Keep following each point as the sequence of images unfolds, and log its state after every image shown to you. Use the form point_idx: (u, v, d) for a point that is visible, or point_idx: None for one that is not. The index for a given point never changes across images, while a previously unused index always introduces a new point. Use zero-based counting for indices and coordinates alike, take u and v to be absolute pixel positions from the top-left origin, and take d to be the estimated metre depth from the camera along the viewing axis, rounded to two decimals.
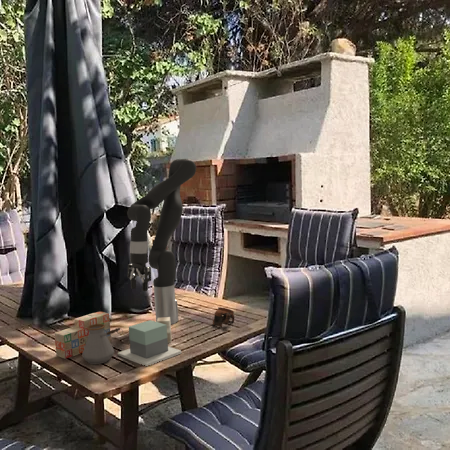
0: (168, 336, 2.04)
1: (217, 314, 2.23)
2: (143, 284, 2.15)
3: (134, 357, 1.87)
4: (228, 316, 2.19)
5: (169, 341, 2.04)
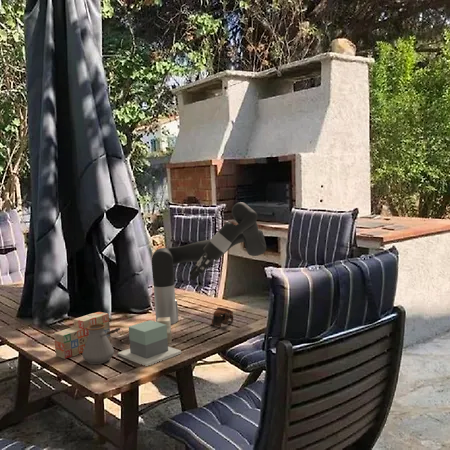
0: (168, 336, 2.04)
1: (216, 314, 2.23)
2: (194, 272, 2.00)
3: (134, 357, 1.87)
4: (227, 316, 2.19)
5: (169, 341, 2.04)
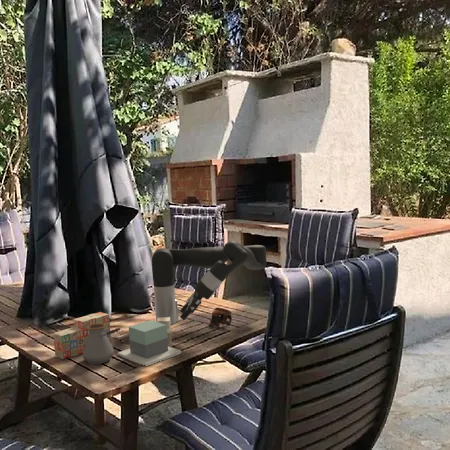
0: (168, 336, 2.04)
1: (214, 314, 2.23)
2: (184, 311, 2.00)
3: (134, 357, 1.87)
4: (225, 316, 2.19)
5: (169, 341, 2.04)
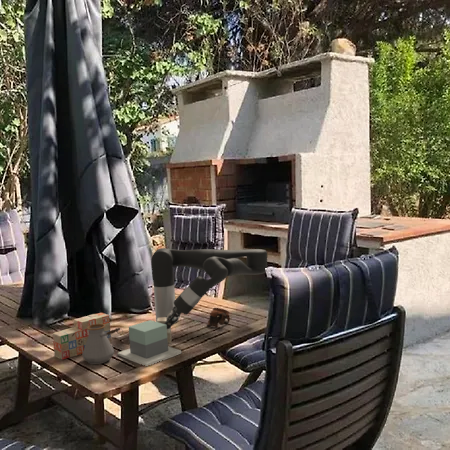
0: (168, 336, 2.04)
1: (212, 314, 2.23)
2: None
3: (134, 357, 1.87)
4: (224, 316, 2.19)
5: (169, 341, 2.04)
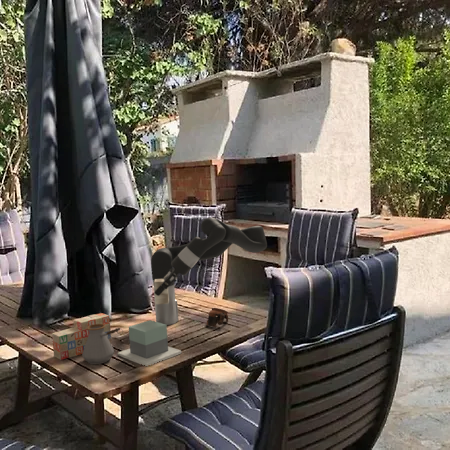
0: (165, 297, 2.01)
1: (211, 314, 2.22)
2: (159, 287, 2.00)
3: (134, 357, 1.87)
4: (222, 316, 2.19)
5: (166, 302, 2.01)
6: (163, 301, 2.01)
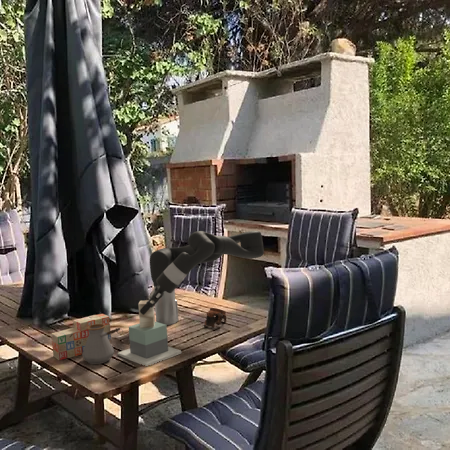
0: (151, 320, 1.89)
1: (209, 315, 2.22)
2: (144, 305, 1.86)
3: (134, 357, 1.87)
4: (220, 316, 2.19)
5: (152, 326, 1.89)
6: (148, 324, 1.89)
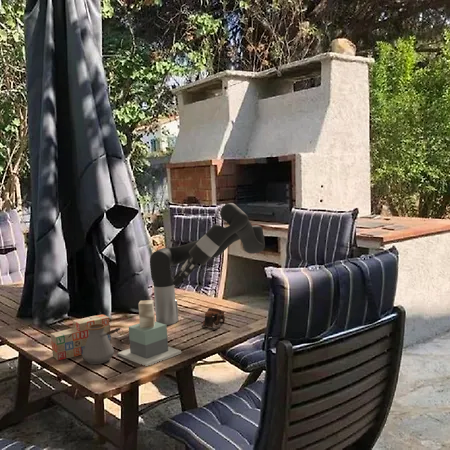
0: (151, 320, 1.89)
1: (208, 315, 2.22)
2: (178, 277, 1.85)
3: (134, 357, 1.87)
4: (219, 317, 2.19)
5: (152, 326, 1.89)
6: (148, 324, 1.89)
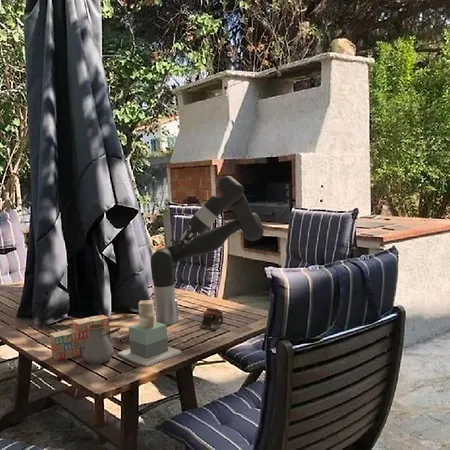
0: (151, 320, 1.89)
1: (206, 315, 2.22)
2: (177, 245, 1.95)
3: (134, 357, 1.87)
4: (217, 317, 2.19)
5: (152, 326, 1.89)
6: (148, 324, 1.89)
